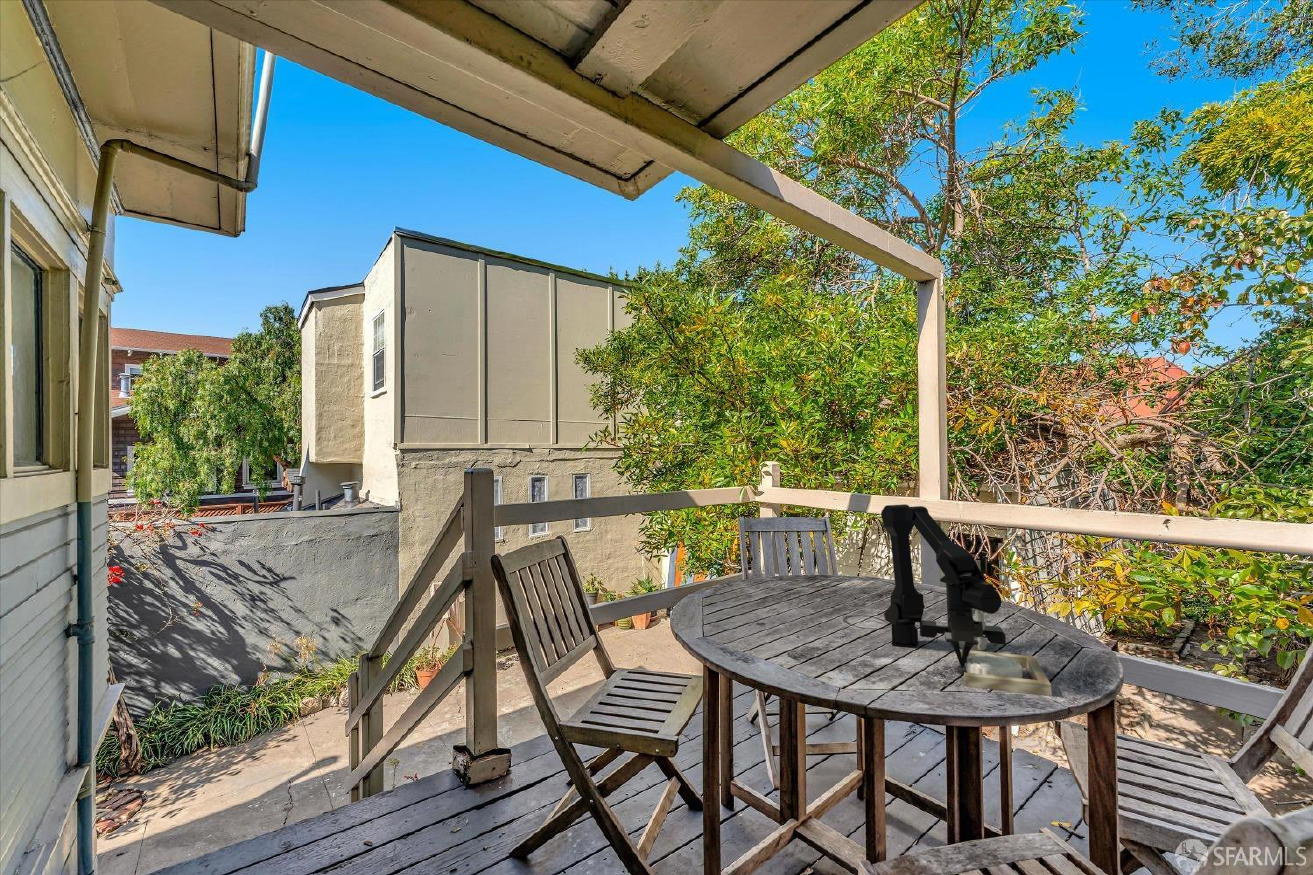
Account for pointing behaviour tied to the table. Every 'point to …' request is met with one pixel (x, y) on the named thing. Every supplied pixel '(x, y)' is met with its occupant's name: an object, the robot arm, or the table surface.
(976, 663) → the mooncake
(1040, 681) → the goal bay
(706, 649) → the table surface
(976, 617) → the mug
